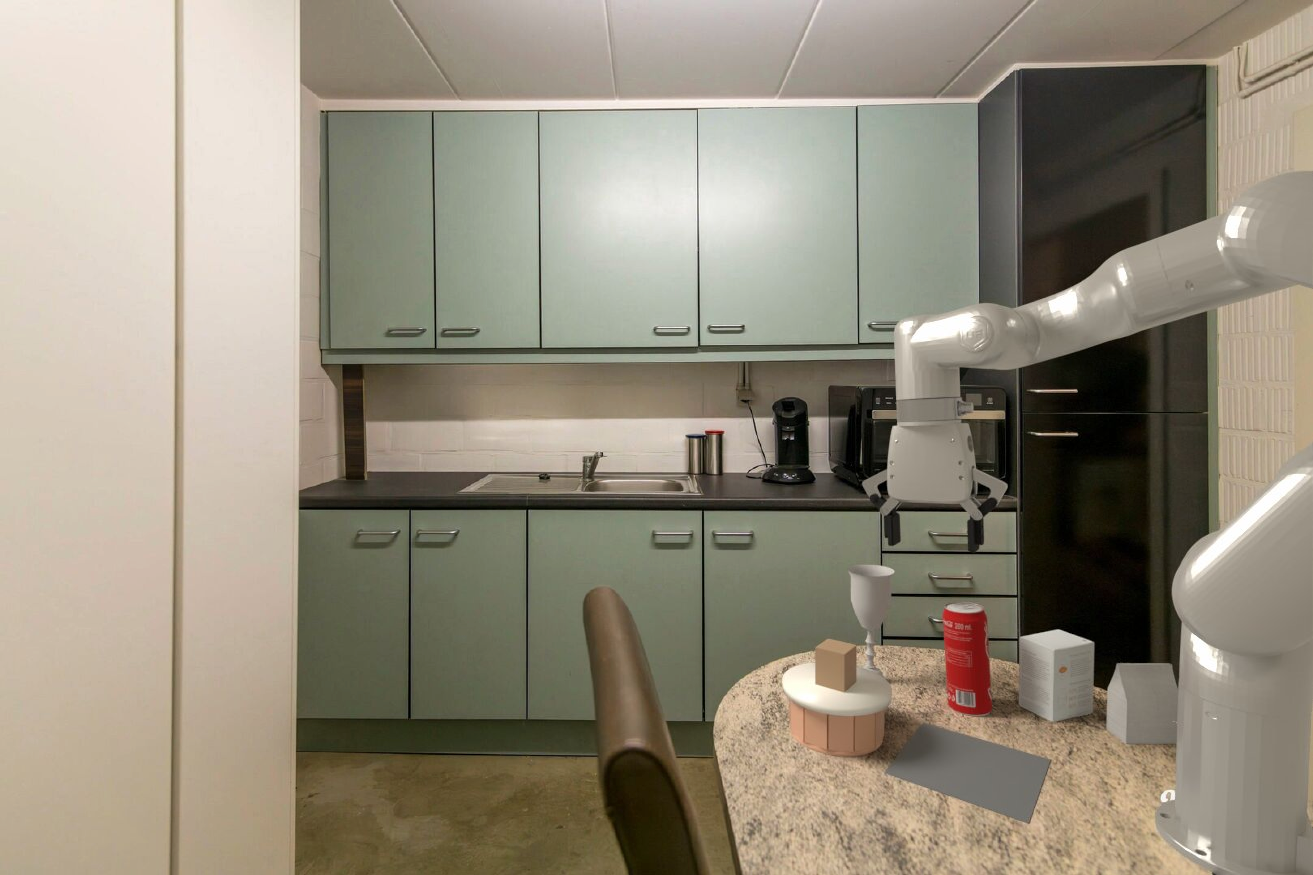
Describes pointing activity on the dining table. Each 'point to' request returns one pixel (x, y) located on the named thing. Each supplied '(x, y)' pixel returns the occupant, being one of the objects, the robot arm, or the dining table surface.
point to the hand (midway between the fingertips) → (932, 547)
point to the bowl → (836, 731)
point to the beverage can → (967, 659)
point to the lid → (837, 683)
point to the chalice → (871, 602)
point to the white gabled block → (1143, 703)
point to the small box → (1056, 675)
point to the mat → (972, 770)
